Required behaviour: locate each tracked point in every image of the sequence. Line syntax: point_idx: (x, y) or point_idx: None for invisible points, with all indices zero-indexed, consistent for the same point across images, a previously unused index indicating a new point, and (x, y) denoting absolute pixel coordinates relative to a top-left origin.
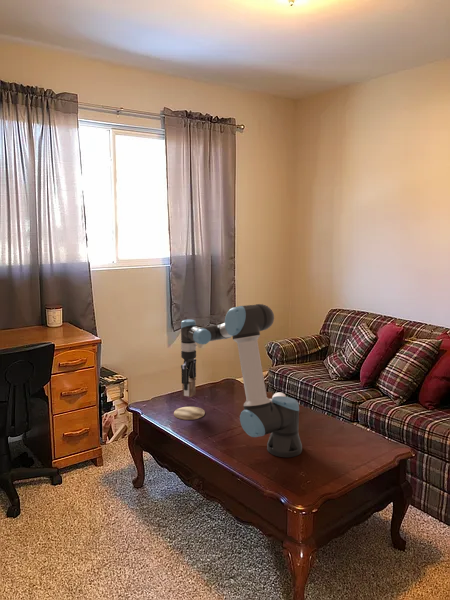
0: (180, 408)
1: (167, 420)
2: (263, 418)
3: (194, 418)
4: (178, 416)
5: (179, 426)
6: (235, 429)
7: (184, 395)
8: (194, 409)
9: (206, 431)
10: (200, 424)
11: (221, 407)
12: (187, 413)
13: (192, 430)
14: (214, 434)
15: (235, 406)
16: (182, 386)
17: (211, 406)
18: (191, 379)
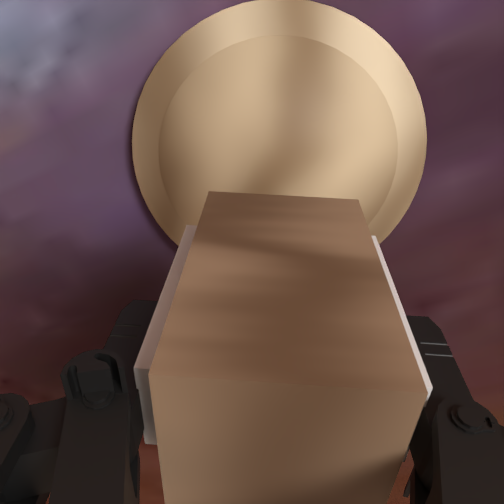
0: (353, 35)
1: (47, 21)
2: None
3: (178, 243)
4: (146, 108)
5: (6, 183)
6: (151, 453)
7: (186, 234)
8: (352, 186)
9: (47, 355)
10: (120, 300)
11: (466, 336)
12: (239, 163)
13: (8, 285)
14: (39, 395)
15: (494, 400)
16: (182, 275)
17: (483, 271)
18: (311, 495)
